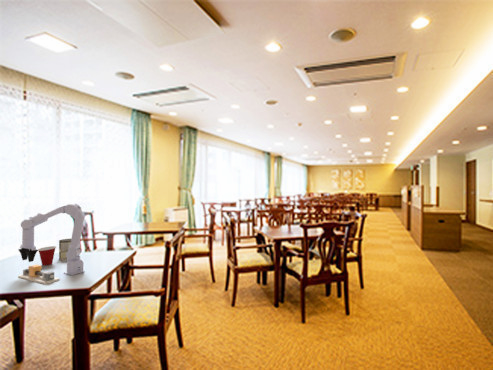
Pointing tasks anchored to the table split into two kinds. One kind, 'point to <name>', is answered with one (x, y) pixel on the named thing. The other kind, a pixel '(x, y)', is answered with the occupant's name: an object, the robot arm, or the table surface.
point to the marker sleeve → (34, 270)
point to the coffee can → (63, 248)
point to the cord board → (39, 277)
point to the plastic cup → (47, 255)
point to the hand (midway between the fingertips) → (27, 260)
